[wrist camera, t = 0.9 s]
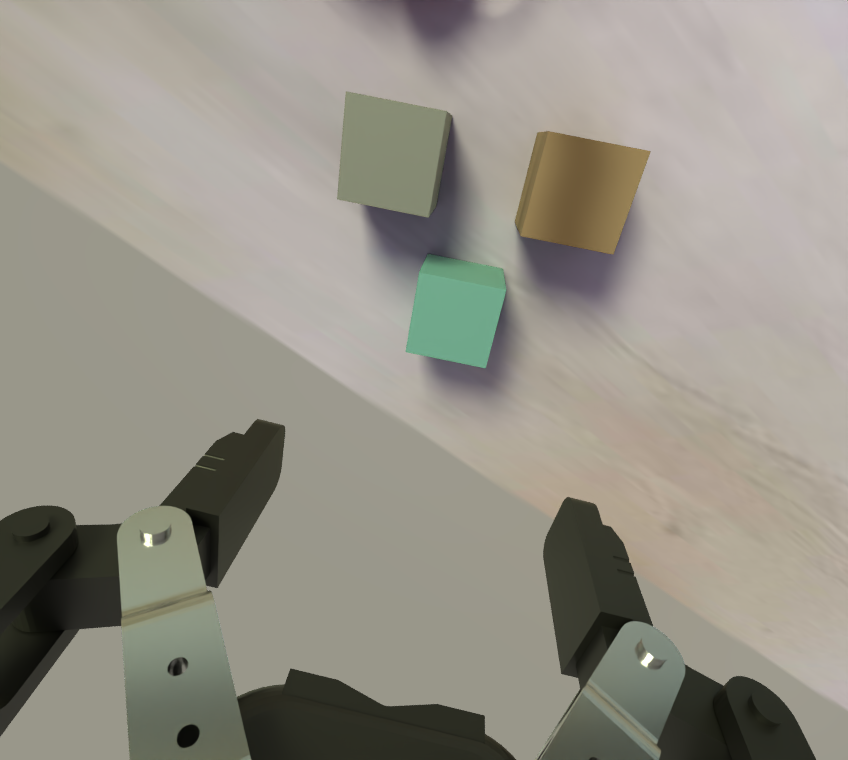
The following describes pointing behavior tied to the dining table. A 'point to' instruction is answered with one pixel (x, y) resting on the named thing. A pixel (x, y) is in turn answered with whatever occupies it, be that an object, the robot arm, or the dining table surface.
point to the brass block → (579, 191)
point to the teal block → (456, 310)
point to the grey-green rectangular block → (392, 154)
